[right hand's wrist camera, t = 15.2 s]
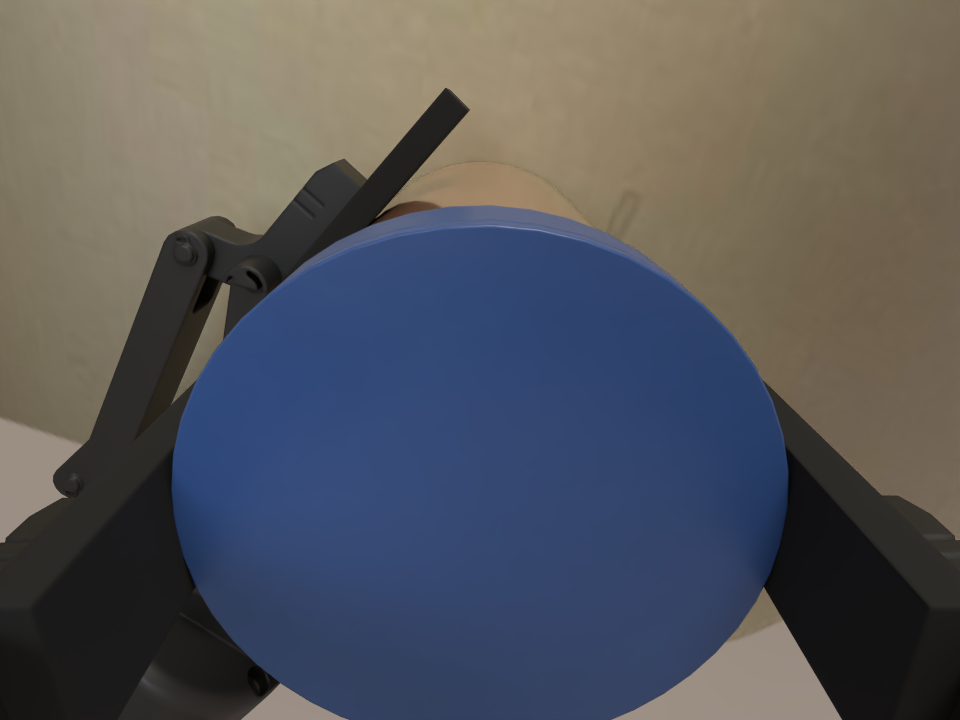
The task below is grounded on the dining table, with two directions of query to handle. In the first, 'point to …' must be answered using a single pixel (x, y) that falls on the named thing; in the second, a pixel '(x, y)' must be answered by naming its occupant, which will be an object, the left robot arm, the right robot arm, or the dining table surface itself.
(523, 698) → the lid
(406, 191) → the jar
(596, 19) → the dining table surface
